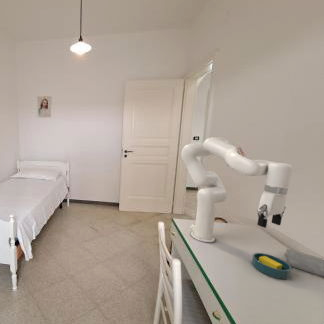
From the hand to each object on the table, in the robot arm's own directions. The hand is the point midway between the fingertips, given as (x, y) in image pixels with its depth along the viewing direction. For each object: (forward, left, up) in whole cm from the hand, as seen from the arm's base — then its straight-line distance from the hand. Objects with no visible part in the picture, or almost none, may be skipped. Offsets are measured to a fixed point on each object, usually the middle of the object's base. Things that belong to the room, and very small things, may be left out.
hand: (268, 225), depth 95 cm
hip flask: (-1, +22, -20) cm, 30 cm away
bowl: (+2, +3, -22) cm, 23 cm away
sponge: (+2, +3, -22) cm, 22 cm away
